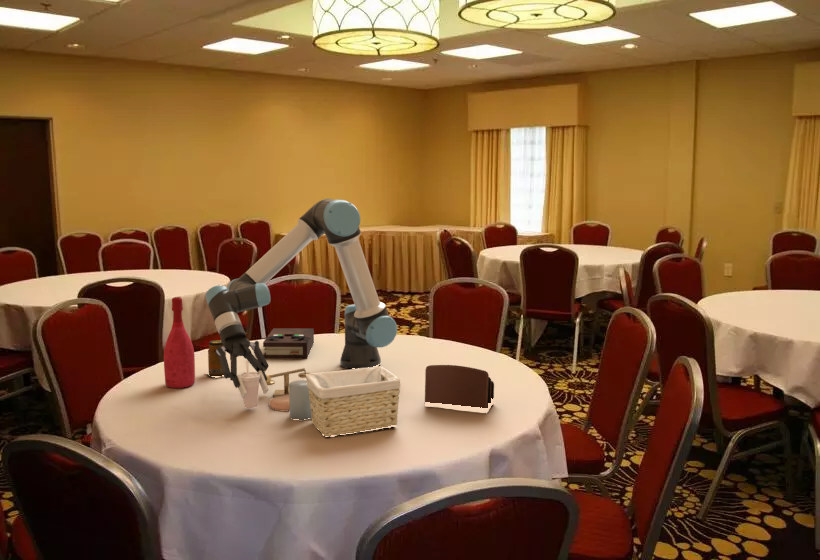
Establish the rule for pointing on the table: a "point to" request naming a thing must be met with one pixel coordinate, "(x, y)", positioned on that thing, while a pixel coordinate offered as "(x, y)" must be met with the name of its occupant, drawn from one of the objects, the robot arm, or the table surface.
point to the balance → (285, 381)
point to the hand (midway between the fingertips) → (255, 393)
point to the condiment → (214, 359)
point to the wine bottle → (178, 352)
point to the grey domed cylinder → (299, 400)
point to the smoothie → (250, 387)
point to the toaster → (458, 386)
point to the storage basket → (353, 400)
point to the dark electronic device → (289, 343)
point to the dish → (280, 403)
